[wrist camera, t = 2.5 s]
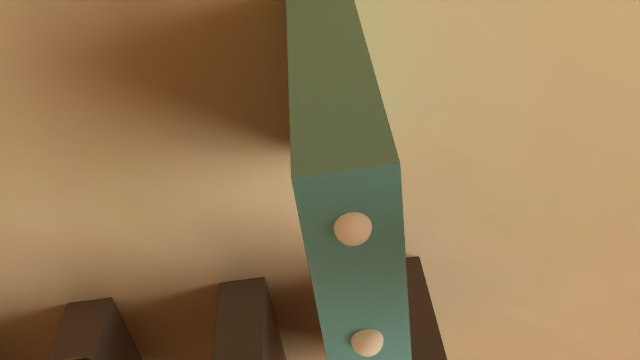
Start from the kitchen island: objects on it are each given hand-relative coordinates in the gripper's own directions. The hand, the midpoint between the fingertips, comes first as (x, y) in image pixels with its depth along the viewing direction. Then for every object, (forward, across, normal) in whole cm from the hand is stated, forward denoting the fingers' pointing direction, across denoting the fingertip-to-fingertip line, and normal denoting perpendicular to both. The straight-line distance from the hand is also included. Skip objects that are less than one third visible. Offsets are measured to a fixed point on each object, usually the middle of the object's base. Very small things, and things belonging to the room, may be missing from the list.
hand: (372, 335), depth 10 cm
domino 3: (+9, 0, 0) cm, 9 cm away
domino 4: (+9, -1, +10) cm, 13 cm away
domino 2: (+9, +4, +10) cm, 14 cm away
